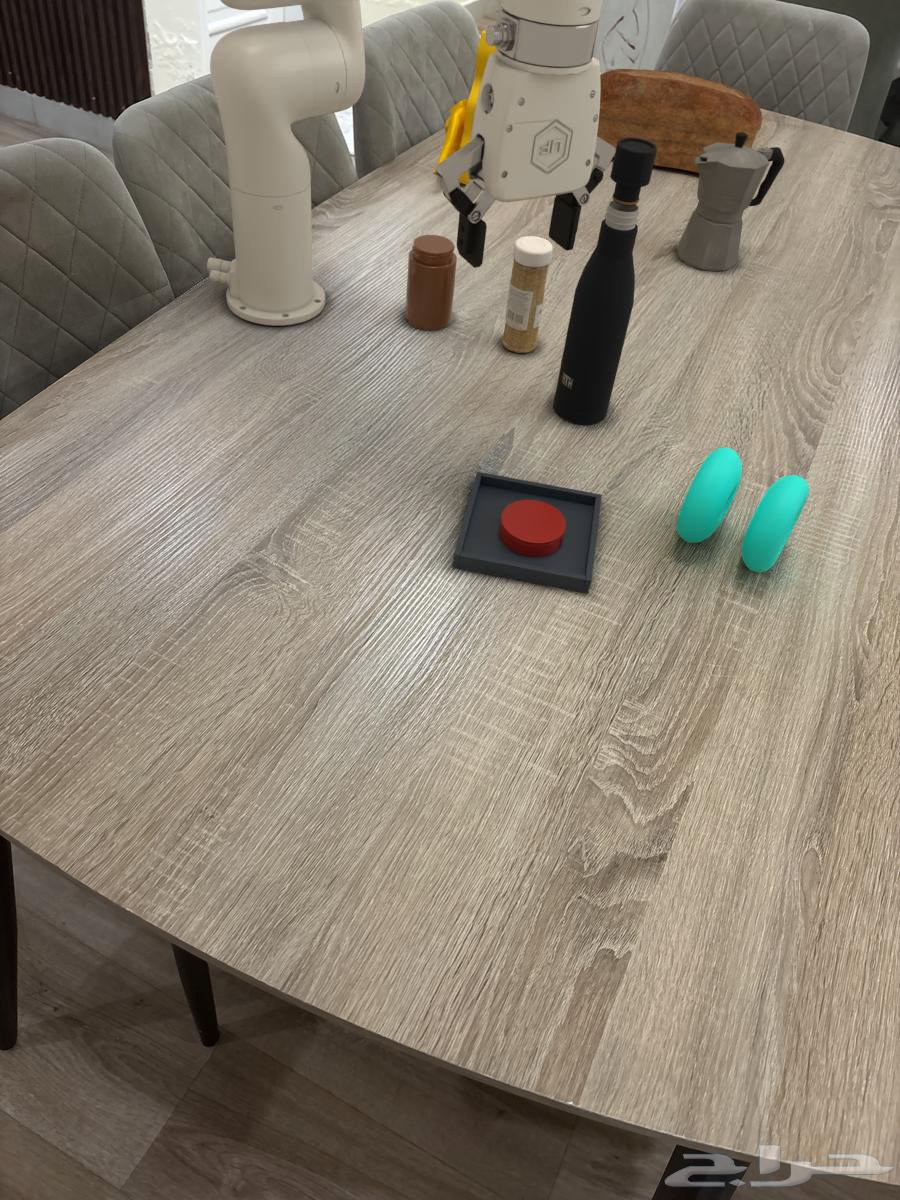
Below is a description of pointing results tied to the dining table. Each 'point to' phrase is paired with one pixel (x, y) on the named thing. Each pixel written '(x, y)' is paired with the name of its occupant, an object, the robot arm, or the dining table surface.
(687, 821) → the dining table surface
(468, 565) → the slate tray
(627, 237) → the black bottle
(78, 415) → the dining table surface
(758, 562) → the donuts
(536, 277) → the spice jar
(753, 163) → the coffeepot
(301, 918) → the dining table surface
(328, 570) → the dining table surface
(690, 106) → the bread
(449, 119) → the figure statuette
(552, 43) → the robot arm
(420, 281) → the jam jar
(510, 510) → the jar lid
